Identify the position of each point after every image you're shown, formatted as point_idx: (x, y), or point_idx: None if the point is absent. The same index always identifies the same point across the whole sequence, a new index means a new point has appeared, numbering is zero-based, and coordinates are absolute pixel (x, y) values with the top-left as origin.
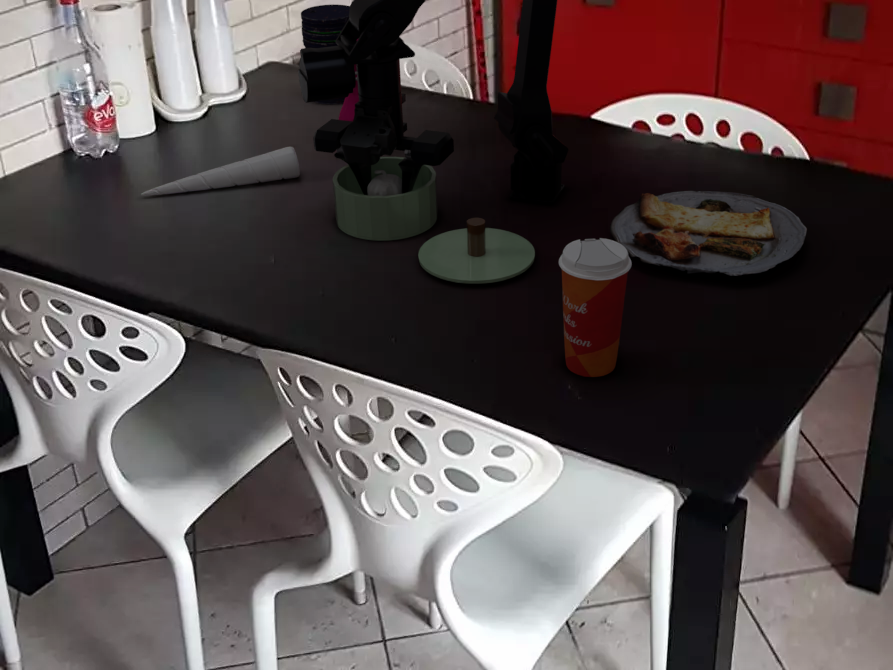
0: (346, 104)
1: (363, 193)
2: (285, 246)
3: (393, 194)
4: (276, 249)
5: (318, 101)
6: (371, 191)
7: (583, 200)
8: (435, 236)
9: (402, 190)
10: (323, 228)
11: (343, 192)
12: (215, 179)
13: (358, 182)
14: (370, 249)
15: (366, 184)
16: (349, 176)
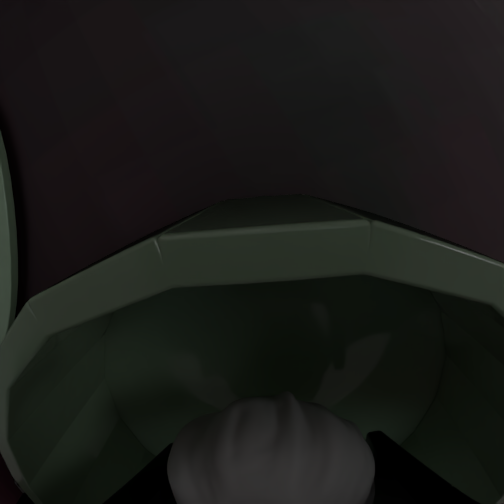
0: None
1: (390, 439)
2: (490, 58)
3: (190, 458)
4: (495, 37)
5: None
6: (327, 446)
7: (8, 486)
8: (8, 281)
9: (155, 484)
10: (466, 227)
11: (499, 261)
12: None
13: (429, 471)
14: (194, 123)
15: (386, 481)
16: (472, 480)
